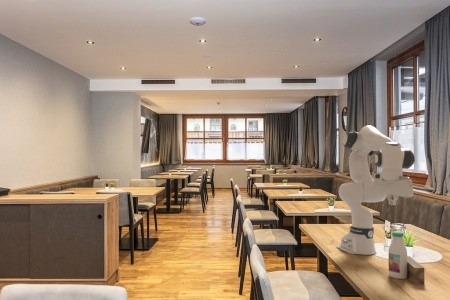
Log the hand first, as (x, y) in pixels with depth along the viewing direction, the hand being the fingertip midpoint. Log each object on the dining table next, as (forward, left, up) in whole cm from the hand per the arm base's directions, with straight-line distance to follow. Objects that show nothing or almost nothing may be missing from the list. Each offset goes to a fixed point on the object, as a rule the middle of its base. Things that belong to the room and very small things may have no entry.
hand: (392, 204), depth 176 cm
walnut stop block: (+11, -1, -31) cm, 33 cm away
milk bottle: (+8, -6, -31) cm, 33 cm away
